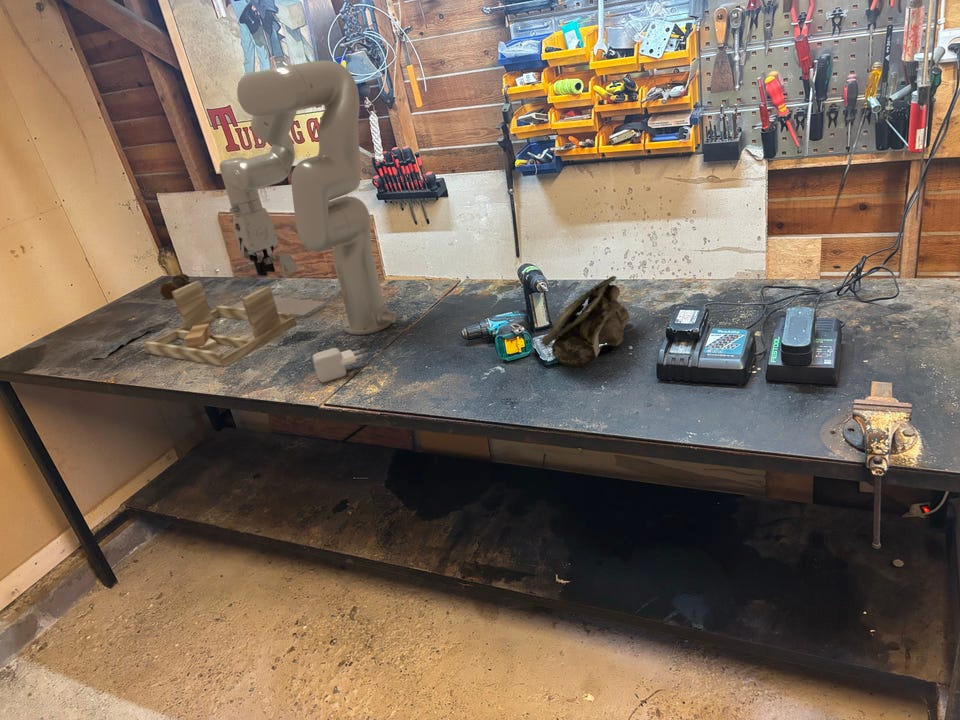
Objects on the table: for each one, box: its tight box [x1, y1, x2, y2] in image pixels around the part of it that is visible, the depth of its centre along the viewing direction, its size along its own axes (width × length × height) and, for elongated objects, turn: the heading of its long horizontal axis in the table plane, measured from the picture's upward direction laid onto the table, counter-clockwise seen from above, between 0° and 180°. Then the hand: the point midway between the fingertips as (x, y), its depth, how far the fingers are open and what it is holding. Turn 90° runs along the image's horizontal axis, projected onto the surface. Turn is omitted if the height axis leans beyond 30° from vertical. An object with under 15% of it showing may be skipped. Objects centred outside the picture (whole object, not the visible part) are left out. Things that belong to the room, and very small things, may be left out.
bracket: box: [236, 253, 299, 280], centre depth 175 cm, size 3×21×10 cm, turn 59°
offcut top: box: [183, 324, 213, 348], centre depth 158 cm, size 8×4×2 cm, turn 8°
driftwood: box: [92, 323, 153, 360], centre depth 172 cm, size 21×7×2 cm, turn 163°
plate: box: [230, 296, 327, 319], centre depth 180 cm, size 29×9×1 cm, turn 61°
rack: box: [143, 280, 298, 367], centre depth 162 cm, size 30×24×12 cm
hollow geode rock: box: [541, 275, 630, 369], centre depth 128 cm, size 28×13×15 cm
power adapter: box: [312, 347, 369, 383], centre depth 136 cm, size 11×5×6 cm, turn 114°
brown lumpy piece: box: [159, 273, 190, 300], centre depth 207 cm, size 6×5×15 cm
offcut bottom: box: [184, 338, 220, 352], centre depth 159 cm, size 10×4×3 cm, turn 46°
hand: (266, 272), depth 175 cm, fingers closed on bracket, 2 cm apart
